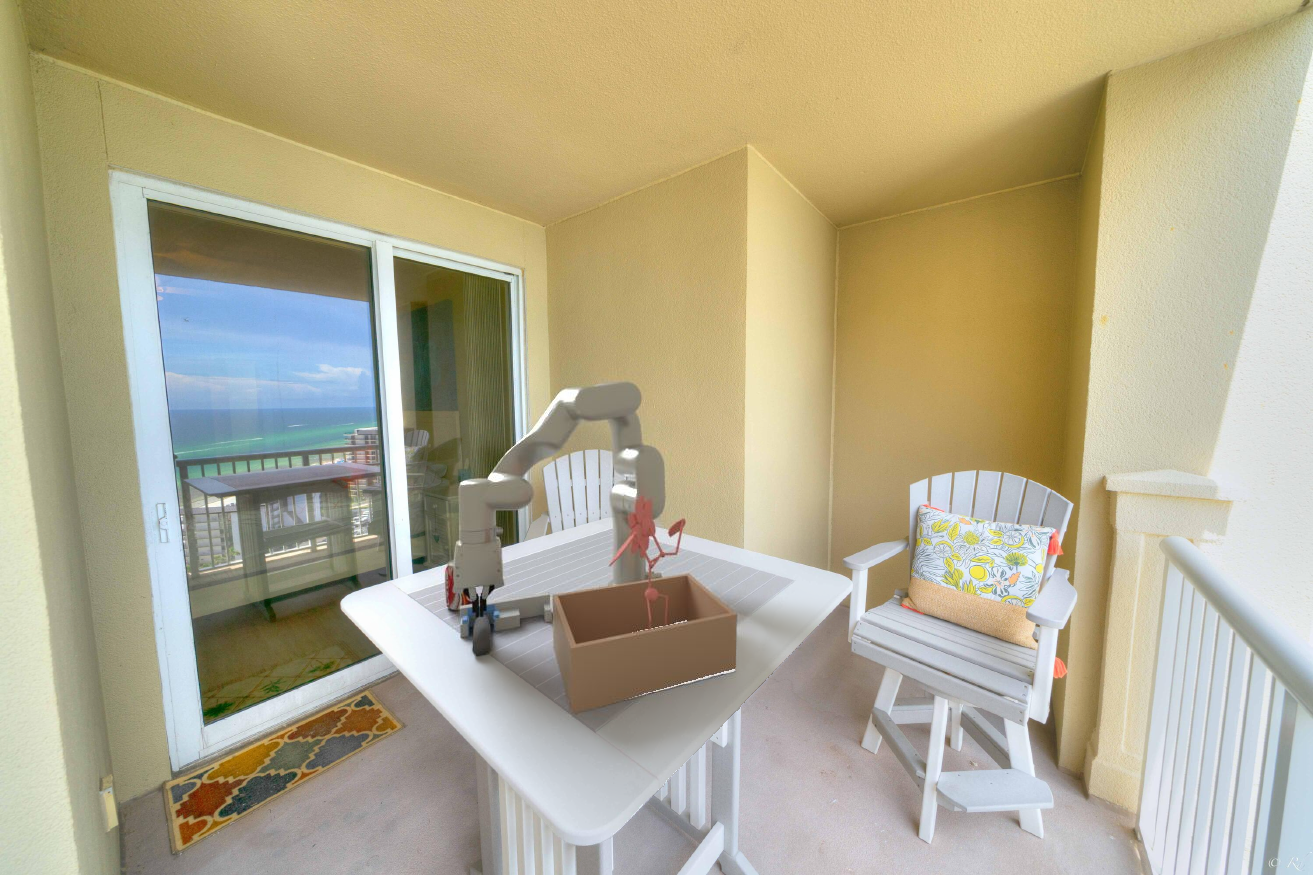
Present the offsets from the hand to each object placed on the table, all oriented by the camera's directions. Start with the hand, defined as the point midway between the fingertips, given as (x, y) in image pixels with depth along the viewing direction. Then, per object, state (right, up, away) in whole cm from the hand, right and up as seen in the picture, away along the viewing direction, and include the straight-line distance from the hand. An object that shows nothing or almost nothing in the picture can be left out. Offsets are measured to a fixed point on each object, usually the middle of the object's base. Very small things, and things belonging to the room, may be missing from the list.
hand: (479, 614), depth 97 cm
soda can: (-12, -5, +17) cm, 22 cm away
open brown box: (+36, -7, -6) cm, 38 cm away
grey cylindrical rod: (0, -7, +1) cm, 7 cm away
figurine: (+36, -7, -6) cm, 38 cm away
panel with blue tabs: (+3, -6, +8) cm, 11 cm away
